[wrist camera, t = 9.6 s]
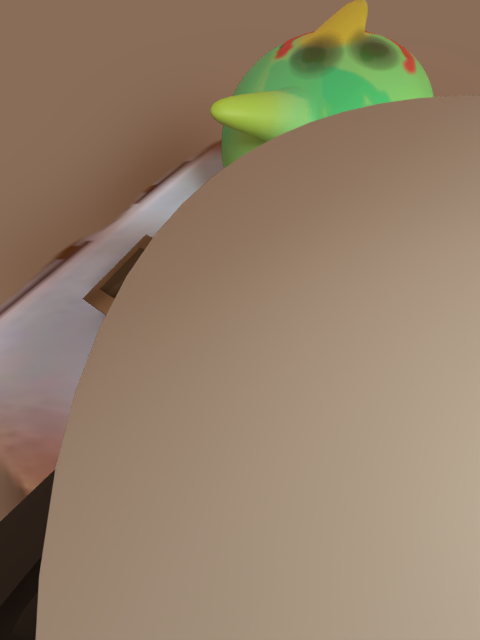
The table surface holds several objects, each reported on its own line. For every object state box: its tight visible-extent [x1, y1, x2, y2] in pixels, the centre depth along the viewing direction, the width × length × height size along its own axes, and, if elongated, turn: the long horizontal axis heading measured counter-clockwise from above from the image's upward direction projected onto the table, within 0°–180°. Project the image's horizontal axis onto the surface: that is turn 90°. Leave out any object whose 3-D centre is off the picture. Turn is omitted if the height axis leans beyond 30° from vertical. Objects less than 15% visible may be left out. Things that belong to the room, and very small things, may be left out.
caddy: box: [83, 235, 152, 315], centre depth 22 cm, size 14×9×2 cm, turn 58°
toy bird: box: [210, 0, 433, 168], centre depth 21 cm, size 18×17×15 cm
